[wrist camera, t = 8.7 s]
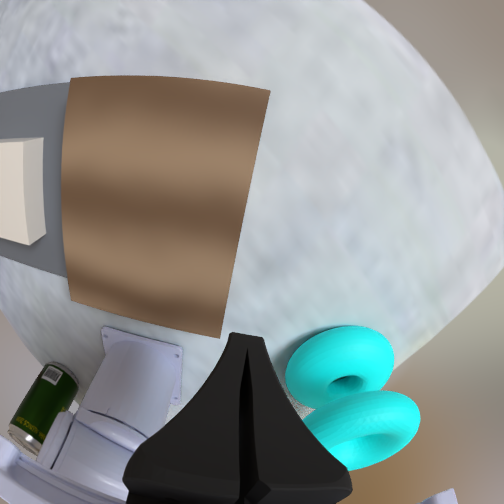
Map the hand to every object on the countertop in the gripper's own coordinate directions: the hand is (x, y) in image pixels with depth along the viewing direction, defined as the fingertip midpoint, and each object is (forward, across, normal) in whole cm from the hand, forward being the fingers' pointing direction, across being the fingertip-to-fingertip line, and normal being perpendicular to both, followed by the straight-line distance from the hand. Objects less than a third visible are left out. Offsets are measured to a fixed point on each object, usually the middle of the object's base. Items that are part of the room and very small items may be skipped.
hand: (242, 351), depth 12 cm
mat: (+9, +21, -2) cm, 23 cm away
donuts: (+10, -10, +9) cm, 17 cm away
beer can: (+10, +20, +22) cm, 31 cm away
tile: (+9, +21, -2) cm, 23 cm away
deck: (+9, +7, -2) cm, 12 cm away
